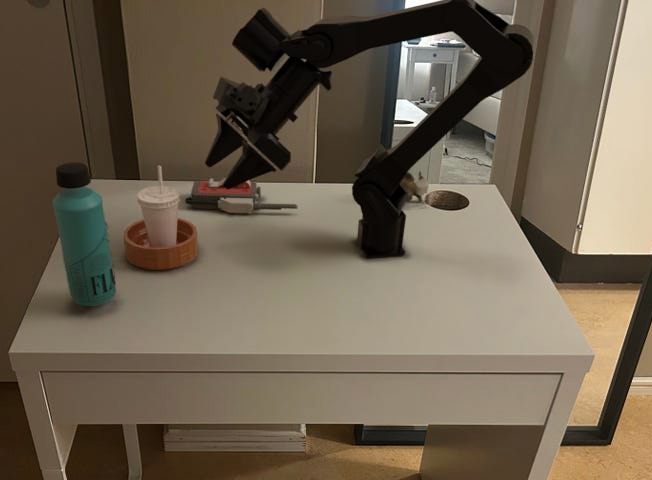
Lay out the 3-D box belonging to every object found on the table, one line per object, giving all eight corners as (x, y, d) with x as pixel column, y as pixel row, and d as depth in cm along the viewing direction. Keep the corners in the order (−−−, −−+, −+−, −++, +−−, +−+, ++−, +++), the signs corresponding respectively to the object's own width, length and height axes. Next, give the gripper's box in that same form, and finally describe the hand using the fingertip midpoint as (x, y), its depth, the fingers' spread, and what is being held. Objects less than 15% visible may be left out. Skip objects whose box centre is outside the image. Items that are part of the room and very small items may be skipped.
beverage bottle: (95, 321, 95) (71, 180, 83) (61, 306, 98) (32, 168, 86) (128, 300, 99) (110, 163, 87) (94, 287, 102) (72, 153, 90)
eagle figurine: (411, 184, 132) (368, 179, 130) (429, 160, 126) (384, 155, 123) (418, 218, 130) (374, 214, 127) (436, 196, 123) (391, 191, 121)
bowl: (195, 237, 116) (193, 214, 113) (201, 269, 107) (199, 246, 104) (126, 241, 114) (123, 219, 111) (126, 275, 105) (123, 251, 103)
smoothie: (176, 263, 107) (169, 176, 99) (137, 258, 108) (126, 171, 100) (189, 244, 112) (183, 160, 104) (152, 240, 113) (142, 156, 105)
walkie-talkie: (183, 214, 123) (297, 216, 123) (181, 190, 120) (297, 193, 120) (190, 194, 130) (297, 196, 130) (188, 171, 127) (298, 173, 127)
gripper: (226, 42, 105) (160, 123, 108) (270, 73, 91) (193, 166, 94) (274, 91, 112) (212, 166, 115) (322, 127, 98) (249, 211, 101)
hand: (215, 176), depth 106 cm, fingers open, 9 cm apart
